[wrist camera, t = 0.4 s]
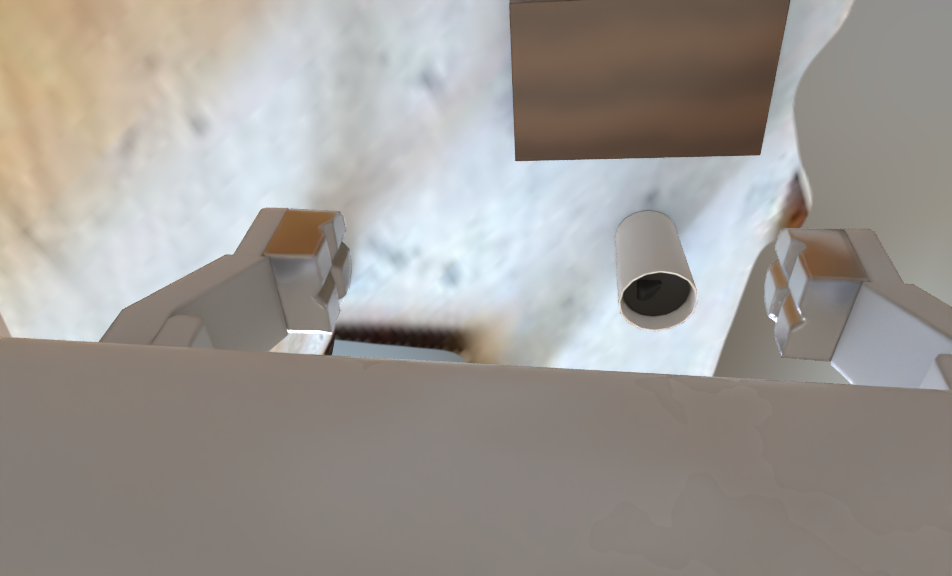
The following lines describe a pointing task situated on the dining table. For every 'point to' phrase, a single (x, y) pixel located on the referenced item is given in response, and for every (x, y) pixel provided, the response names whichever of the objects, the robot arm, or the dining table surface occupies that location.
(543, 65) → the chopping block
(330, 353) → the beer glass
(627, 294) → the white cup
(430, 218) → the dining table surface
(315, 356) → the robot arm
